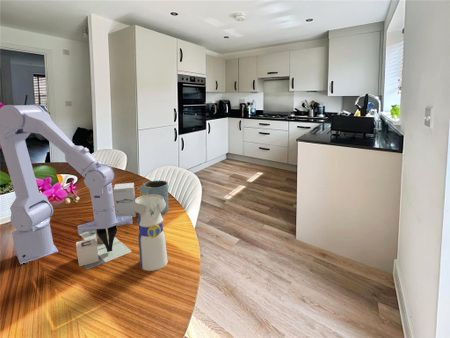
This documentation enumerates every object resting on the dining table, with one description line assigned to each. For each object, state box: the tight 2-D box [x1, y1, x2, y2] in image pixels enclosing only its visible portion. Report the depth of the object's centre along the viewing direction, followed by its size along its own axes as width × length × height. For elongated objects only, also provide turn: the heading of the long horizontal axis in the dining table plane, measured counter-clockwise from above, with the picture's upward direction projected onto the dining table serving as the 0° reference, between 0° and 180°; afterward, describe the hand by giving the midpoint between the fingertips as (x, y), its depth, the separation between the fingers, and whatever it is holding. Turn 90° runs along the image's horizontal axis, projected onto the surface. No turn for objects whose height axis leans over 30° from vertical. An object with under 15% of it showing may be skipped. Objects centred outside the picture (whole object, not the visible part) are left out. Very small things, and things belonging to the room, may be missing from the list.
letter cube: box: [75, 238, 99, 267], centre depth 78 cm, size 5×5×5 cm
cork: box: [96, 228, 109, 244], centre depth 88 cm, size 4×4×4 cm
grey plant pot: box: [143, 180, 169, 216], centre depth 111 cm, size 10×10×12 cm
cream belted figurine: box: [133, 182, 169, 272], centre depth 73 cm, size 8×9×25 cm
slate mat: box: [83, 255, 106, 271], centre depth 78 cm, size 5×8×1 cm, turn 44°
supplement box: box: [112, 182, 137, 218], centre depth 108 cm, size 7×7×13 cm
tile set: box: [78, 232, 133, 263], centre depth 88 cm, size 8×25×1 cm, turn 44°
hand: (109, 249), depth 81 cm, fingers closed
